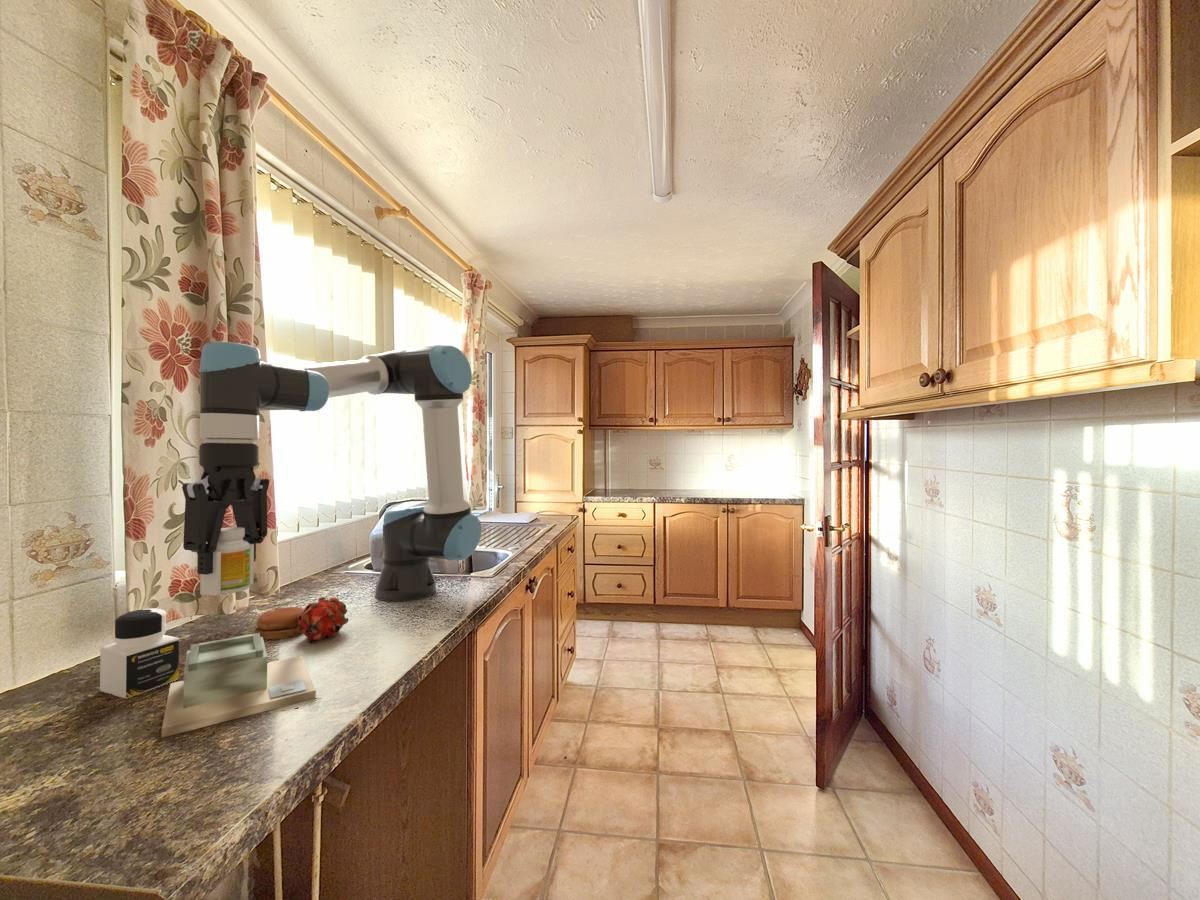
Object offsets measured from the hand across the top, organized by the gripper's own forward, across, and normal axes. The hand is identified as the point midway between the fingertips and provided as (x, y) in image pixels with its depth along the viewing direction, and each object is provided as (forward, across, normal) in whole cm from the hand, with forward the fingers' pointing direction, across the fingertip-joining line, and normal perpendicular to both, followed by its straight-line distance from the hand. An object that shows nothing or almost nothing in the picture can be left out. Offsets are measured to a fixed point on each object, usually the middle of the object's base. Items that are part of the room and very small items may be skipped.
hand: (227, 588), depth 78 cm
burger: (+17, -25, -11) cm, 32 cm away
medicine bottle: (+17, 0, -16) cm, 23 cm away
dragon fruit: (+17, -23, -1) cm, 29 cm away
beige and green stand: (+17, 0, +3) cm, 17 cm away
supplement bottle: (+1, 0, 0) cm, 1 cm away
